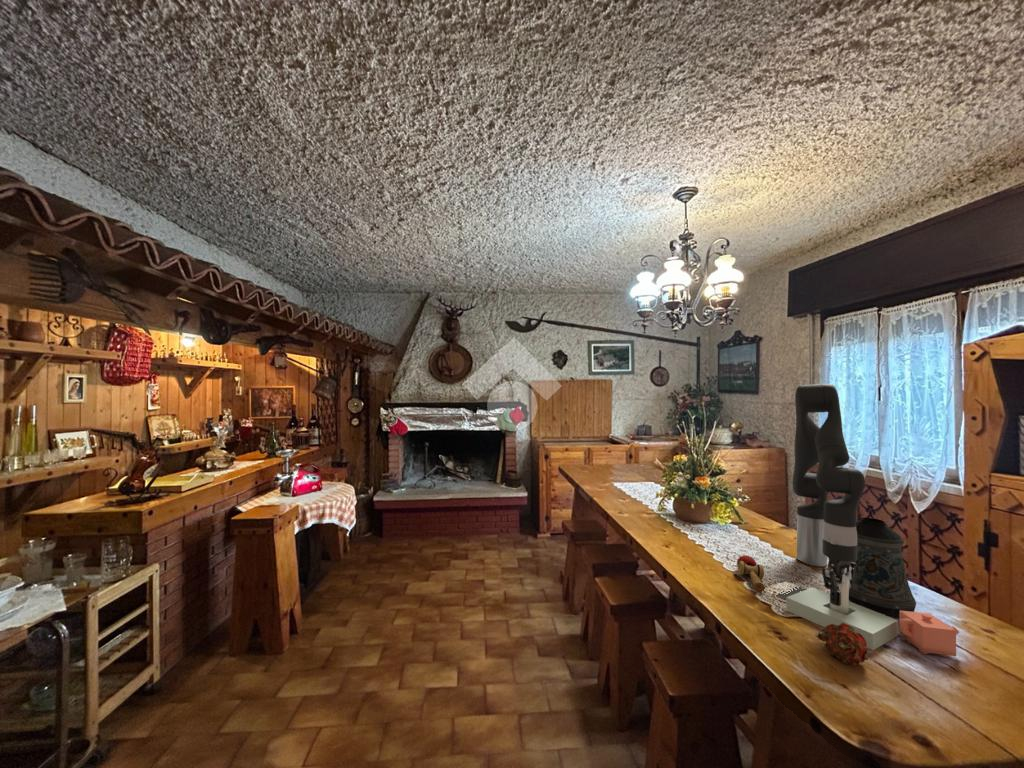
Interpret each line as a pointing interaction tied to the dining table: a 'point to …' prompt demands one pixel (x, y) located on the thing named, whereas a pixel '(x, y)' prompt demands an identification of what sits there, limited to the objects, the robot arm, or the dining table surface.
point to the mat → (790, 593)
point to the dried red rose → (845, 643)
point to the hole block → (843, 616)
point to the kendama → (751, 571)
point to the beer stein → (880, 570)
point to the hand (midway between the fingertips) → (839, 602)
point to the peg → (843, 598)
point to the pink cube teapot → (928, 633)
